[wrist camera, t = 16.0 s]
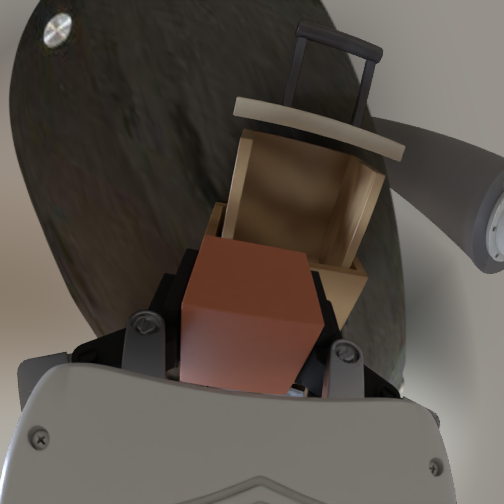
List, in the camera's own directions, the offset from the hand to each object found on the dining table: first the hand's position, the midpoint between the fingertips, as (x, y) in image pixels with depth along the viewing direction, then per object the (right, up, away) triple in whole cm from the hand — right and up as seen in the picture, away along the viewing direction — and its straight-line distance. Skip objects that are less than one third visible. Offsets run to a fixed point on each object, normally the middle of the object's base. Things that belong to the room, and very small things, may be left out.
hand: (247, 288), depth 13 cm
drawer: (+4, +10, +10) cm, 15 cm away
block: (0, 0, 0) cm, 0 cm away
